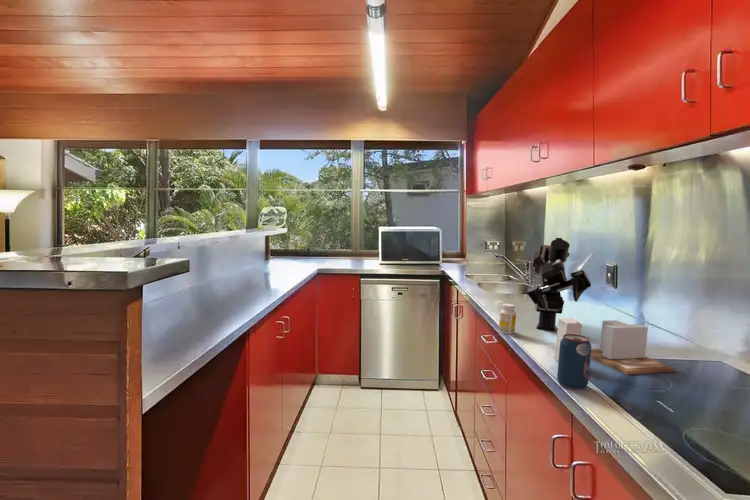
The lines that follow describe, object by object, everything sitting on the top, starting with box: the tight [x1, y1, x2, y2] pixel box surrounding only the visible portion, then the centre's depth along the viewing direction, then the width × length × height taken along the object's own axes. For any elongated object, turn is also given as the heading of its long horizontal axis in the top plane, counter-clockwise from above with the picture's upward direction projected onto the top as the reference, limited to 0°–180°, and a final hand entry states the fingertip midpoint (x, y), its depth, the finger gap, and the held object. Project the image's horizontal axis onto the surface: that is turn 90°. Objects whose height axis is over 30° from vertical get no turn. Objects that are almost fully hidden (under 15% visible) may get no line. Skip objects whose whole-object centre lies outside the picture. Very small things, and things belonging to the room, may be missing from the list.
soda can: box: [556, 334, 592, 390], centre depth 109 cm, size 7×7×12 cm
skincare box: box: [554, 317, 583, 362], centre depth 126 cm, size 6×4×12 cm
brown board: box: [590, 348, 675, 375], centre depth 129 cm, size 18×16×1 cm
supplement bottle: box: [498, 303, 517, 335], centre depth 156 cm, size 5×5×10 cm
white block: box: [599, 319, 649, 359], centre depth 132 cm, size 8×12×9 cm, turn 105°
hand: (560, 305), depth 140 cm, fingers open, 9 cm apart
